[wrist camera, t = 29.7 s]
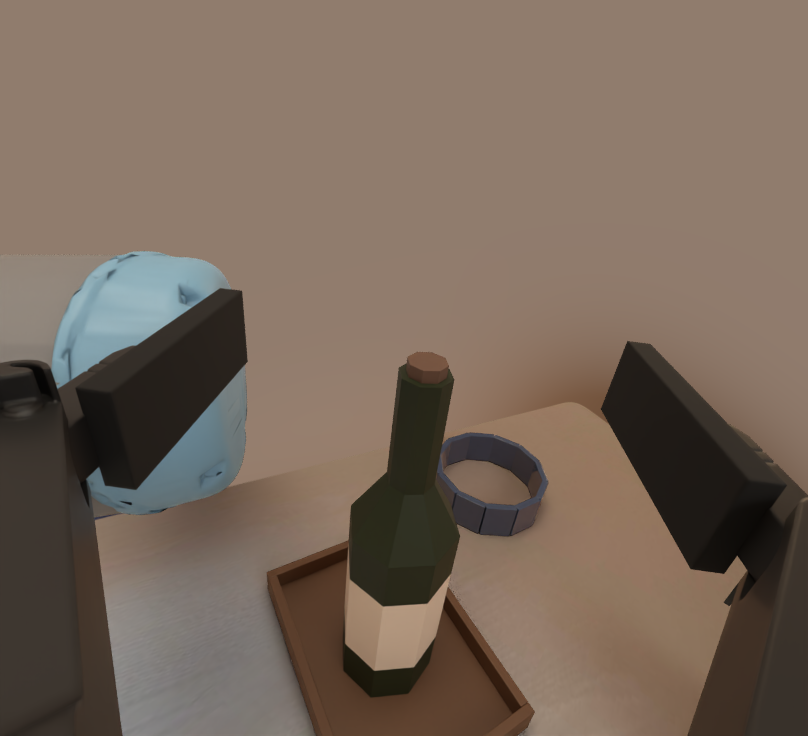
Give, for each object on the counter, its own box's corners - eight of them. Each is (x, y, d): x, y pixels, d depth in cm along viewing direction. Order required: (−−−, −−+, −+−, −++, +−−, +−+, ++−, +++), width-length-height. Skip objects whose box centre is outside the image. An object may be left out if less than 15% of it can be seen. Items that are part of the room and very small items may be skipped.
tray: (267, 588, 44) (266, 571, 43) (399, 534, 52) (401, 519, 51) (357, 861, 29) (359, 847, 27) (527, 727, 36) (535, 711, 35)
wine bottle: (324, 680, 37) (334, 378, 23) (358, 594, 44) (381, 322, 30) (418, 715, 36) (493, 415, 21) (437, 619, 43) (502, 347, 28)
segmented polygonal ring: (411, 473, 62) (415, 448, 59) (490, 446, 69) (496, 423, 67) (476, 552, 51) (483, 525, 49) (561, 512, 58) (570, 487, 56)
